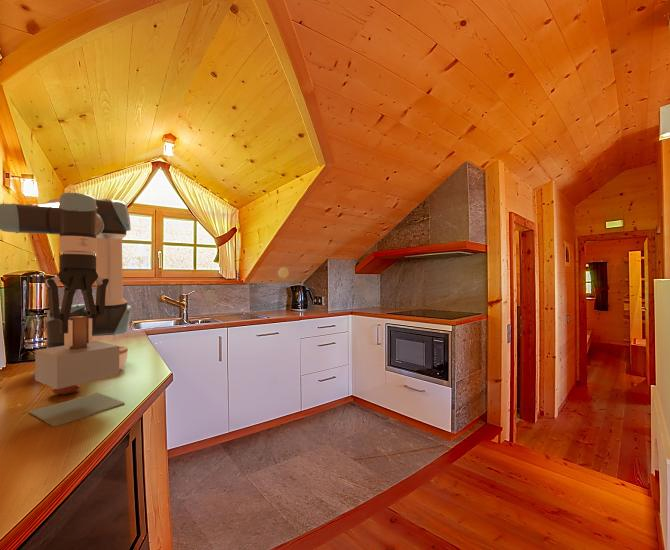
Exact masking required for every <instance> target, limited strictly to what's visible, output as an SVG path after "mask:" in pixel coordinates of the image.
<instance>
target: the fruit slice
mask: <svg viewBox="0 0 670 550" xmlns="http://www.w3.org/2000/svg"><path fill="white" fill-rule="evenodd" d="M81 387H82V386H81V384H77V385H73V386H69V387H65V388H61V389H55V388H53V387H51V388H50V391H51V392H53V393H55V394H57V395H58V394H59V395H68V394H69V395H70V394H72V393H74V392H76V391H77V390H79V389H80V388H81Z"/></svg>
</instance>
